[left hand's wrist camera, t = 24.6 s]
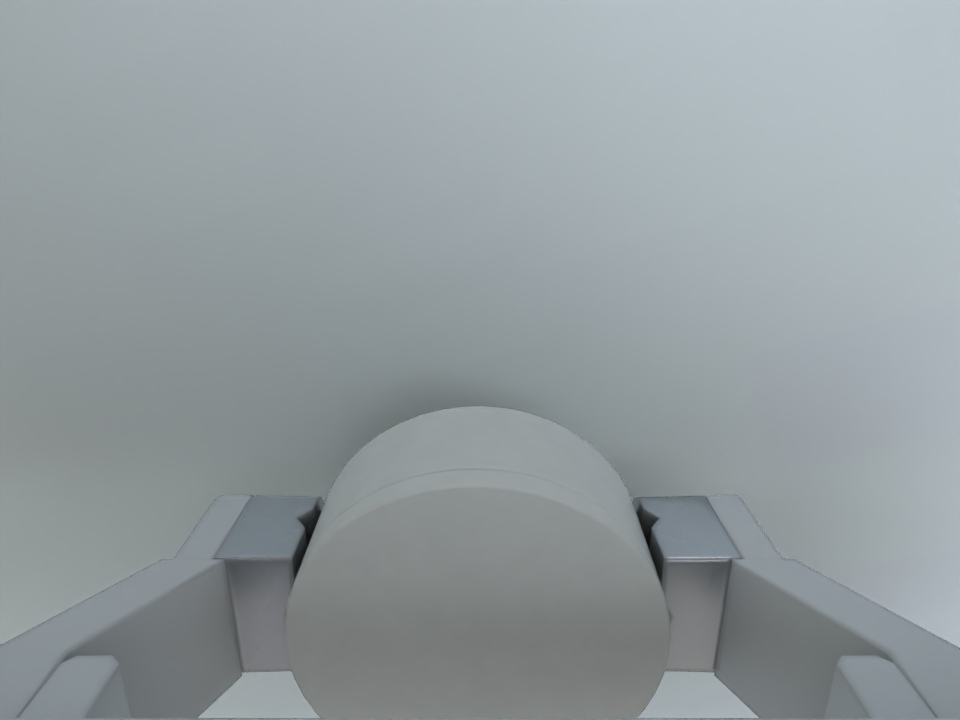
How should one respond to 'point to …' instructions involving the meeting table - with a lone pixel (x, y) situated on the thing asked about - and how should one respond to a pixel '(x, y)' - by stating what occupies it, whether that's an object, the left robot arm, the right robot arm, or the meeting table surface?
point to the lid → (478, 578)
